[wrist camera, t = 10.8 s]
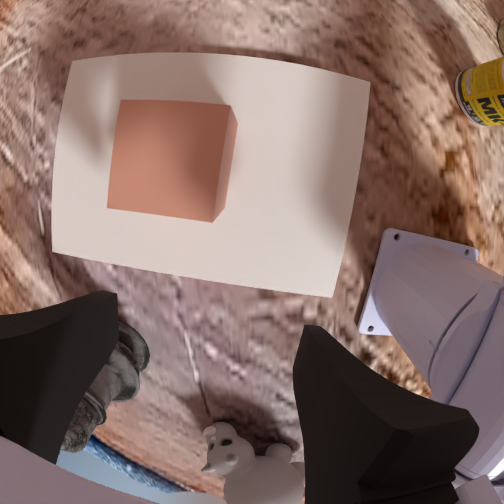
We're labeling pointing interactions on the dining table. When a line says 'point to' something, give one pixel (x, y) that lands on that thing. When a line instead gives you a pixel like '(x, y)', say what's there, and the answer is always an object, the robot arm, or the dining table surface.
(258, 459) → the round bodied animal figurine
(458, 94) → the supplement bottle
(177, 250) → the tray
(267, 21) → the dining table surface
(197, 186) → the cube
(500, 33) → the ceramic model
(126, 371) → the salt shaker
